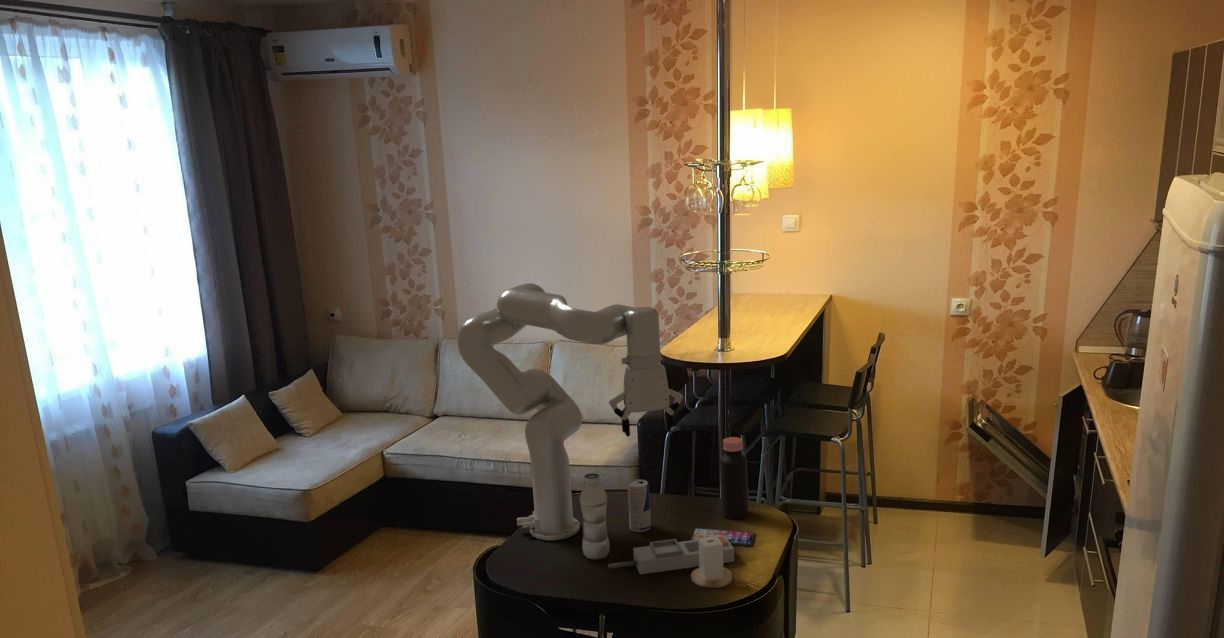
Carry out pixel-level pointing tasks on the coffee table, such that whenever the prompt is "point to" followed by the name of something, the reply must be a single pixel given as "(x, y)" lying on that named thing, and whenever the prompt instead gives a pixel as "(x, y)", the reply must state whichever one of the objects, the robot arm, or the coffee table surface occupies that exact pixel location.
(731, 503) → the vinegar
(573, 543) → the coffee table surface
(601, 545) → the plastic bottle
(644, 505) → the energy drink
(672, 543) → the power strip
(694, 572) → the coaster
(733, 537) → the smartphone
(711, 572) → the block
